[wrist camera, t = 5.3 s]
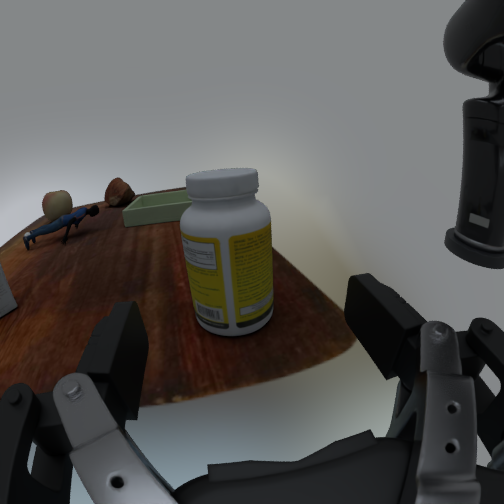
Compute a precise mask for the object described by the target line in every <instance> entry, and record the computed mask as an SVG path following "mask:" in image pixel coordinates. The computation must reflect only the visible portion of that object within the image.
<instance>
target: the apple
mask: <svg viewBox="0 0 504 504" xmlns="http://www.w3.org/2000/svg"><path fill="white" fill-rule="evenodd" d="M42 207H43V212H44V214H45V216H46V218H47V219H48V220H49V221H51V222H54V221H55V220H57V219H59V218H60V217H61V216H62V215H69V214H71V212H72V207H73V204H72V199H71V196H70V194H69V193H68V192H67V191H64V190H60V191H55V192H49V193H47V194H46V195H45V196H44V199H43V202H42Z"/></svg>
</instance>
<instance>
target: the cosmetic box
mask: <svg viewBox="0 0 504 504" xmlns="http://www.w3.org/2000/svg"><path fill="white" fill-rule="evenodd" d="M16 307H17V303H16V301H15V299H14V297H13V295H12V292H11V290H10V288H9V285H8V282H7V280H6V277H5V275H4V272H3V269H2V266H1V263H0V317H2V316H3V315H5V314H7V313H8V312H10V311H11V310H13V309H14V308H16Z"/></svg>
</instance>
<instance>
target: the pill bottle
mask: <svg viewBox="0 0 504 504" xmlns="http://www.w3.org/2000/svg"><path fill="white" fill-rule="evenodd" d="M258 187H259V183H258V172H257V170H256V169H251V168H231V169H218V170H211V171H202V172H197V173H193V174H190V175H188V176H186V189H187V194H188V198H189V199H191V200H192V205H191V206H190V207H189V208H188V209H186V210H185V212H184V213H183V215H182V217H181V220H180V229H181V236H182V242H183V248H184V254H185V260H186V266H187V272H188V277H189V283H190V288H191V294H192V299H193V305H194V309H195V314H196V318H197V320H198V322H199V323H200V325H201V326H202V327H203V328H204V329H206V330H208V331H209V332H212V333H214V334H218V335H223V336H240V335H245V334H249V333H252V332H255V331H256V330H258V329H260V328H261V327H263V326H264V325H265V324H266V323H267V322H268V321H269V319H270V318H271V315H272V312H273V271H272V238H271V237H272V236H271V217H270V212H269V210H268V208H267V207H266V206H265V205H264V204H263V203H262V202H260V201H258V200H256V199H255V193H257V192H258V189H257V188H258Z"/></svg>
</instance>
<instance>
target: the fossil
mask: <svg viewBox="0 0 504 504" xmlns="http://www.w3.org/2000/svg"><path fill="white" fill-rule="evenodd" d="M134 196H135V193H134V191H132V189H131V188H130V186H129V185H128V184H127V183H125V182H123V180H122V179H121V178H115V179H113V180H112V181H111V182H110V184H109V185H108V187H107V189H106V192H105V202H107V203H108V204H110V205H113V206H116V205H122V204H124V203H126V202H128V201H130V200H131V199H132V198H133V197H134Z"/></svg>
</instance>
